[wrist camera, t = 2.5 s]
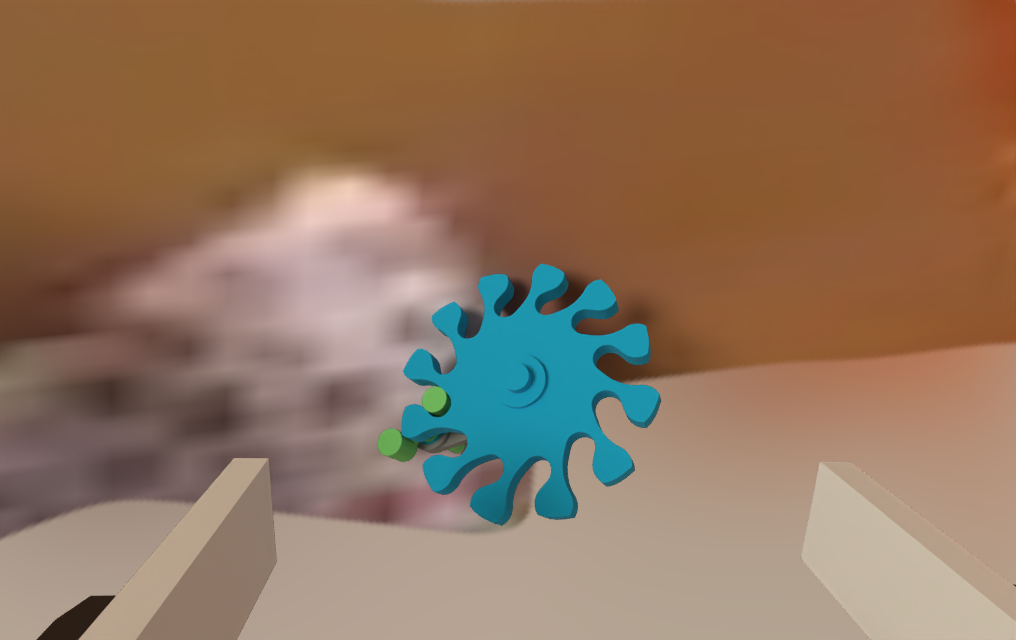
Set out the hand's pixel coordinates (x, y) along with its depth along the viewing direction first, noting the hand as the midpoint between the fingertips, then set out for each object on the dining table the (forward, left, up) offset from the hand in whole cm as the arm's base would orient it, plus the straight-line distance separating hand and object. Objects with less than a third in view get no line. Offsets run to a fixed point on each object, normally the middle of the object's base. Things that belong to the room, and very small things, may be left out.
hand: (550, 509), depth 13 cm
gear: (0, 0, -12) cm, 12 cm away
